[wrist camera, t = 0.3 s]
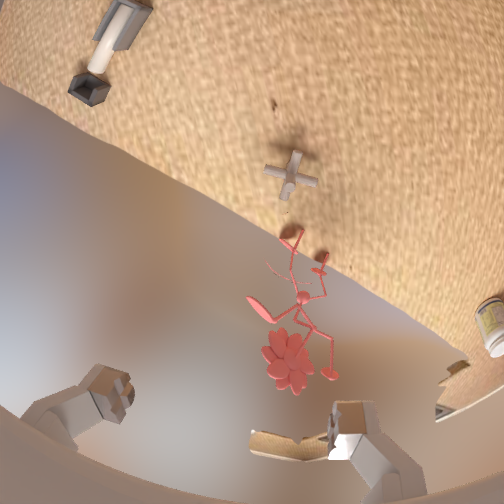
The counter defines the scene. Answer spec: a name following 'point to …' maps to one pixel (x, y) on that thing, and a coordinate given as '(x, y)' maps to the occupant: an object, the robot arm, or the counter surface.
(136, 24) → the sleeve
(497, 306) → the supplement tub
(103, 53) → the slip tube
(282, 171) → the pipe connector
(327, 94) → the counter surface
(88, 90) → the socket
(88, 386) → the robot arm
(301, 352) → the figurine
